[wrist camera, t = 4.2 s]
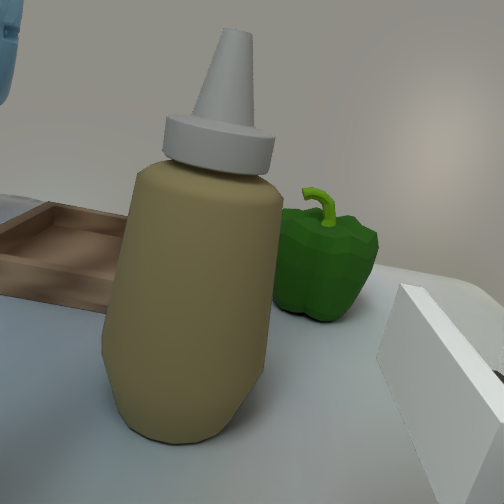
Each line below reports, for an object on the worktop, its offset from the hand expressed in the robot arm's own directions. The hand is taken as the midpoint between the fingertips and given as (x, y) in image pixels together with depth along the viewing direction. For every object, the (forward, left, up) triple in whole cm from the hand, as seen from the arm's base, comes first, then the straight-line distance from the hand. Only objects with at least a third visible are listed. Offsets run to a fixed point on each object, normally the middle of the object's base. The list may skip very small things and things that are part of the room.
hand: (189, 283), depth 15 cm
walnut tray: (-20, +15, -10) cm, 26 cm away
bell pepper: (-4, +23, -10) cm, 26 cm away
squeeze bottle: (-4, +6, -10) cm, 12 cm away
